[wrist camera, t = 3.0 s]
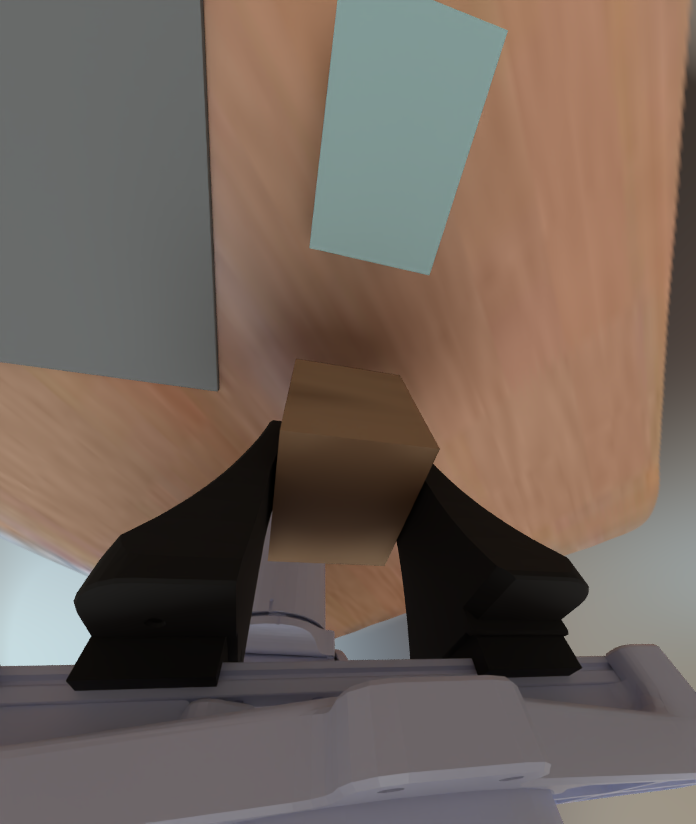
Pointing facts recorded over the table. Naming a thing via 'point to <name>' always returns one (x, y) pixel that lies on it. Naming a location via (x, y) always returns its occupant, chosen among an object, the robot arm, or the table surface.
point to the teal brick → (398, 127)
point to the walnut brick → (346, 466)
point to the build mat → (106, 190)
